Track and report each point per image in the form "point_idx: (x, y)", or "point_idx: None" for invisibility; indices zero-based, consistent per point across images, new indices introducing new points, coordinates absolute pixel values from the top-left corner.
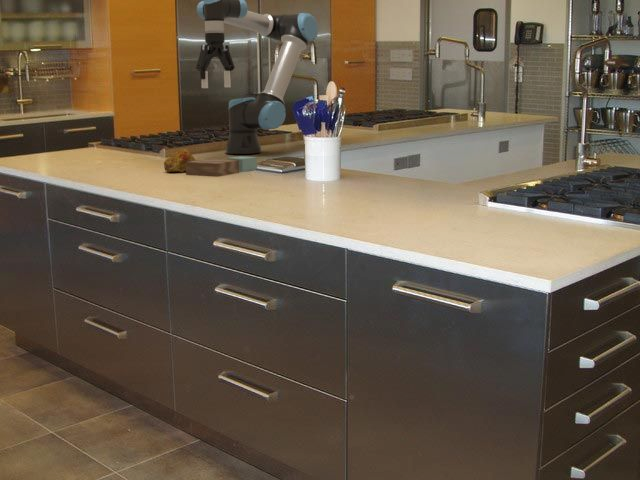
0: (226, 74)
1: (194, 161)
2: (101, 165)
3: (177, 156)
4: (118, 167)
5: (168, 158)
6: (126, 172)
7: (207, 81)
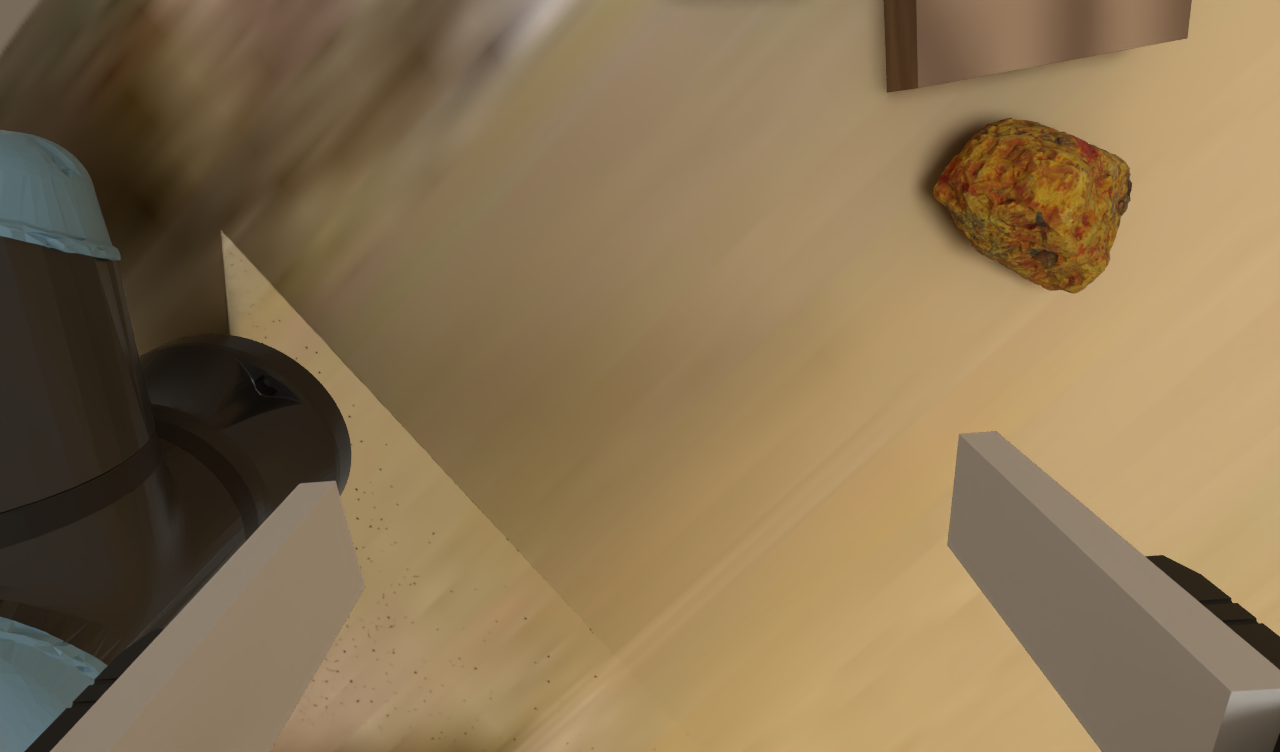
0: (209, 745)
1: (1126, 17)
2: (932, 721)
3: (1102, 198)
4: (967, 611)
5: (1102, 258)
6: (1141, 424)
7: (1046, 498)
